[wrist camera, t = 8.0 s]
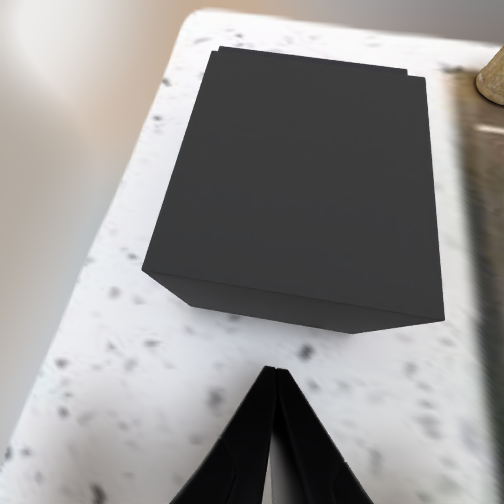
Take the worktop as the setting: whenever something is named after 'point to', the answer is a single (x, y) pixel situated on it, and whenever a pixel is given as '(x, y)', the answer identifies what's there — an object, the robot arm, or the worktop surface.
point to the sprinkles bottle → (493, 79)
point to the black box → (303, 198)
